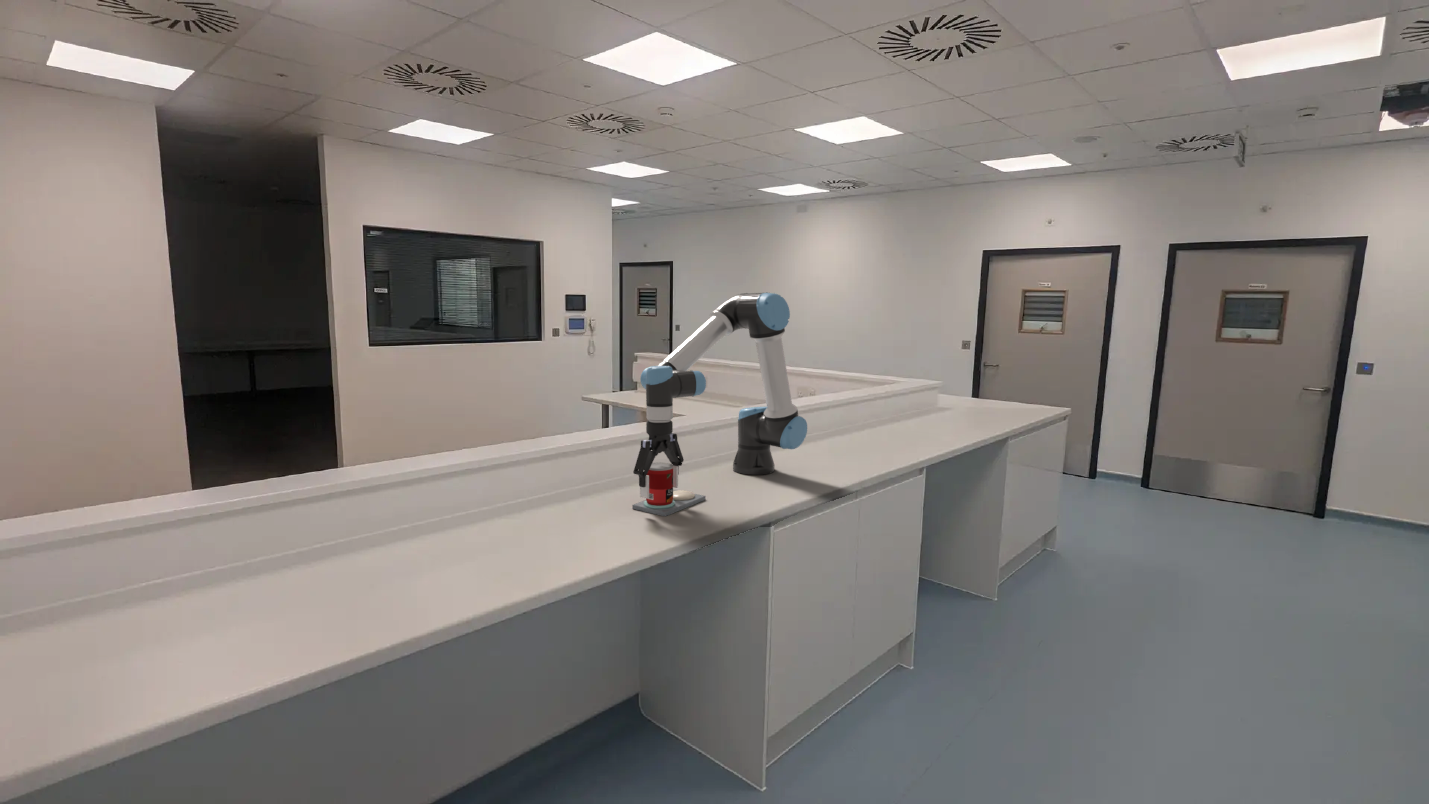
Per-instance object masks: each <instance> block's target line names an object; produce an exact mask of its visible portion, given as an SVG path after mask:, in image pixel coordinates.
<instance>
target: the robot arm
mask: <svg viewBox="0 0 1429 804" xmlns="http://www.w3.org/2000/svg"><path fill="white" fill-rule="evenodd" d="M789 307H790V306H789V304H788V302H787V300H786V299H785V298H784V297H783V296H781V295H780V294H778V293H775V292H773V293H772V292H754V293H753V292H752V293H748V292H746V293H738V294H736V295H734V296H732V297H730V298H728V299H727V300H725V301H724V302H722V303H721V304H720V305H718V306H717V307H716V308H715V309H714V310H712V311H711V313H710V314H709V317H708V319H707V320H705V322H704V323H703V324H702V325H701V326H699V327H698V328H697V329H696V330H695V331H694V332H693V333H692V334H691V335H690V336H688V337H687V338H686V339H685V340H684V341H682V343H681V344H680V345H678V346H677V348H675V349H673V351H671V353H669V355H667V356H666V357H665V358H664V359H663V360H662V361H661V362H659V364H657V365H650V366H649V367H646V368H645V369H643V371H642V372H641V374H640V378H639V379H640V383H641V387H642V388H643V389H644V390H645V398H646V399H645V405H646V413H645V414H646V417H645V418H646V420H647V421H646V422H645V423H646V424H645V426H646V427H645V428H646V430H645V432H646V434H647V435H648V439H641V441H640V449H639V452H638V454H637V455H638V456H637V459H636V462H635V465H634V468H633V474H634V475H637V476H638V485H639V497H640V498H642V499H643V498H644V499H646V498H647V499H648V498H649V475H647V473H648V471H649V469H650V467H651V465H652V463H654V460H655V458H656V457H657V456H658V455H659V454H661V453H662V452H663V453H664V455H666V458H667V459H668V461H669V462H670V464H672V465H673V489H677V488H679V474H680V473H679V471H680V470H679V468H680V467H679V466H682V465H683V463H684V457H683V453H682V450H681V446H680V444H679V441H678V434H677V433H675V432H674V431H673V430H674V429H673V425H674V424H673V421H672V420H673V416H674V415H673V414H674V413H673V412H674V410H673V409H674V408H673V406H674V404H673V401H674V399H677V398H687V397H688V398H689V397H694V398H695V397H696V396H701V395H702V394H703V393H704V392H705V390H706V388H707V379H706V377H705V375H704V374H703V373H702V372H701V371H700V370H689V369H691V368H692V366H694V365H695V364H696V363H697V362H698V361H699V360H700V359H701V358H702V357H703V356H705V354H707V352H708V351H710V350H711V349H712V348H713V347H714V346H715V345H716V344H718V343H719V342H720V341H721V340H722V339H723V338H724V337H727V336H730V335H731V334H733V332H735V331H738V330H740V329H741V330H742V329H746V330H747V329H748V332H749V338H750V339H751V340H753V341H754V342H755V346H756V352H757V358H758V363H759V370H760V375H761V381H762V386H763V393H764V398H765V404H766V406H754V407H744V408H741V409H740V410H739V412H738V418H737V438H738V439H737V450H736V454H735V456H734V459H733V462H732V470H733V471H734V472H735V473H738V474H742V475H751V476H752V475H753V476H761V475H768V474H771V473H774V472H775V463H774V462H775V461H774V457H773V454H772V451H771V447H776V448H780V449H783V450H796V449H797V448H799V447H800V446H802V444H803V442H804V441H805V439H806V437H807V434H808V423H807V420H806V419H805V418H804V417H803V416H801V415H799V412H798V407H797V406H796V405H795V404H793V402H792V395H791V389H790V384H789V376H788V372H787V363H786V359H785V358H786V357H785V352H784V346H783V345H784V344H783V341H782V336H783V335H784V334H785V333H786V329H785V328H786V327H787V326H788V325H789V322H790V321H789V319H790V316H791V313H790V312H791V311H790V308H789ZM673 432H674V433H673Z"/></svg>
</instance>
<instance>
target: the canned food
mask: <svg viewBox="0 0 1429 804" xmlns="http://www.w3.org/2000/svg"><path fill="white" fill-rule="evenodd" d="M647 475H649V498H648V499H647V498H645V500H646V501H647V503H648V504H650V505H655V506H663V505H669V504H671V503H672V501H673V490H674V487H673V464H671V463H669V462H653V463H652V465H651V467H650V469H649V471H648V473H647Z"/></svg>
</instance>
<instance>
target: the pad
mask: <svg viewBox="0 0 1429 804" xmlns="http://www.w3.org/2000/svg"><path fill="white" fill-rule="evenodd" d="M643 501H644V500H643ZM674 505H675V501H674V500H673V501H672V503H671V504H669V505H663V506H655V505H650V504H648V503H647V501H644V506H645V507H648V508H652V509H665V508H670V507H673V506H674Z"/></svg>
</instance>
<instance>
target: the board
mask: <svg viewBox="0 0 1429 804" xmlns="http://www.w3.org/2000/svg"><path fill="white" fill-rule="evenodd" d="M706 497H707V496H706V495H704V494H703V495H702V494H697V493H694V492H693V491H691V490H682V489H681V490H680V489H679V490H678V489H673V500H674V501H675V505H674V506H673V507H670V508H665V509H652V508H648V507H645V506H644V501H646V499H645V500H641V501H638V502H637V503H634V504H632V508H631V509H633V510H636V511H639V512H645V513H649V514H653V515H658V516H662V517H667V516H670V515H673V514H674V513H676V512H679V511H681V510H684V509H686V508H687V509H688V508H690V507H691V506H693V505H696V504H698V503H701V502H703V501H706Z"/></svg>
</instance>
